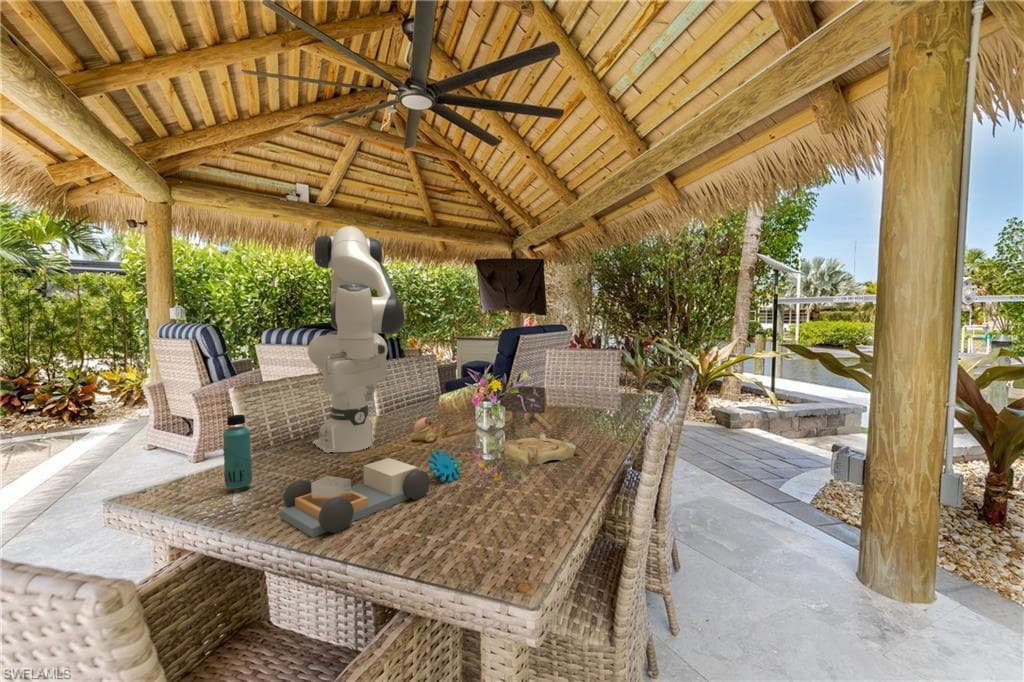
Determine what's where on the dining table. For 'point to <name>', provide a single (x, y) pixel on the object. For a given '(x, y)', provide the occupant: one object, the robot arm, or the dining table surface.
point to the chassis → (354, 497)
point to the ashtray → (538, 450)
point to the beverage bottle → (237, 454)
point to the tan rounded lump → (424, 430)
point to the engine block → (330, 489)
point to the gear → (444, 466)
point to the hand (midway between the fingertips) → (357, 404)
